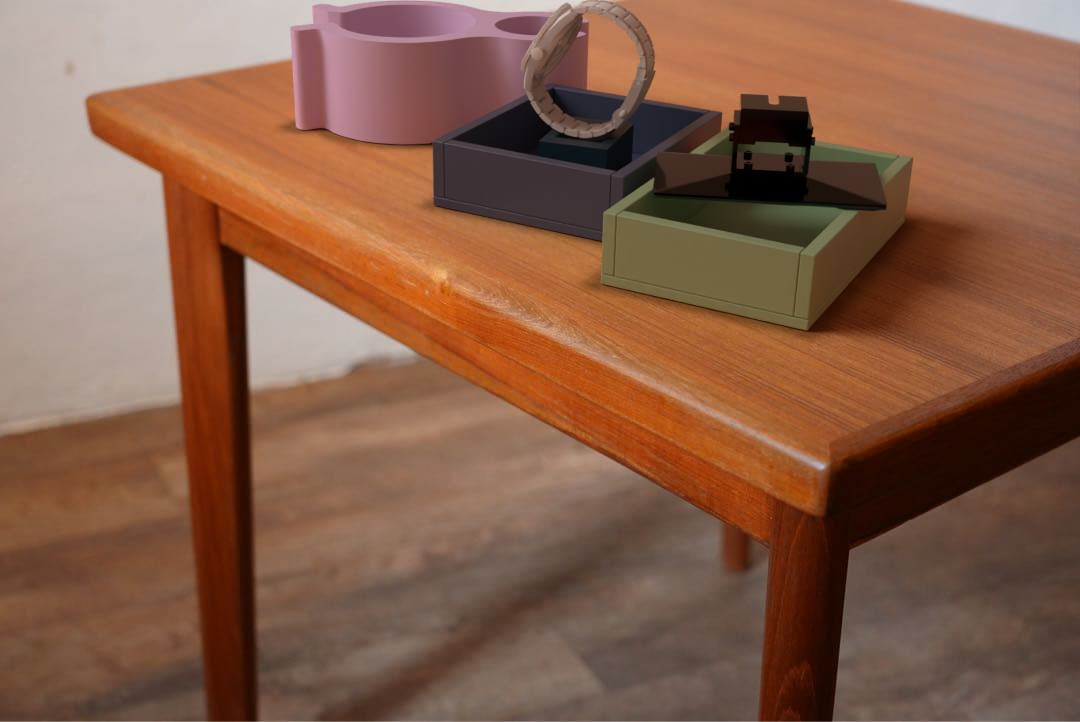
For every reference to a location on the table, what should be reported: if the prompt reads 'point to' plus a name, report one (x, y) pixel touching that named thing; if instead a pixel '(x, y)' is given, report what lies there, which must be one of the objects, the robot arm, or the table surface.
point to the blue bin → (556, 161)
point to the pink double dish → (415, 67)
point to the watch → (578, 135)
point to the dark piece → (770, 165)
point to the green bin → (751, 242)
